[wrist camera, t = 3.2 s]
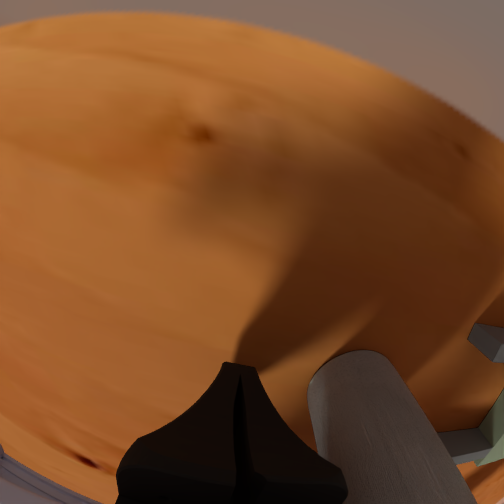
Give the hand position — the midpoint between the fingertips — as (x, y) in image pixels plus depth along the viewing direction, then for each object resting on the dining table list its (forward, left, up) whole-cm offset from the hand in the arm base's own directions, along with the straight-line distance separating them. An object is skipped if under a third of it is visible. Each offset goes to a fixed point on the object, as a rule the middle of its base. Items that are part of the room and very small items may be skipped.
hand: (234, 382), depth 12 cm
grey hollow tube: (0, -6, -1) cm, 6 cm away
